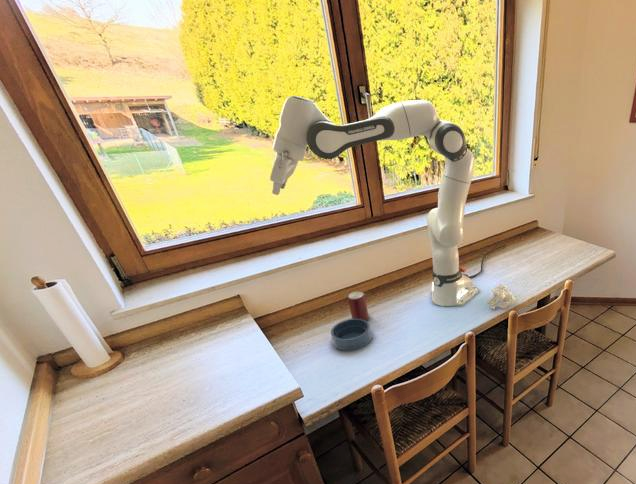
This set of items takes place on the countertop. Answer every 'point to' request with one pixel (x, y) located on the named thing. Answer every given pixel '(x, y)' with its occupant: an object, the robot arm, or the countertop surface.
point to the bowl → (351, 334)
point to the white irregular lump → (501, 298)
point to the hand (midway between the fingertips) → (278, 190)
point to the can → (358, 305)
